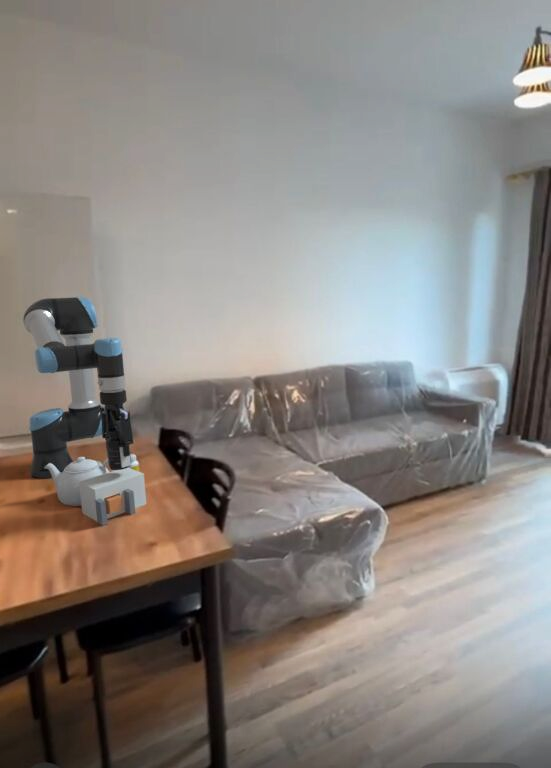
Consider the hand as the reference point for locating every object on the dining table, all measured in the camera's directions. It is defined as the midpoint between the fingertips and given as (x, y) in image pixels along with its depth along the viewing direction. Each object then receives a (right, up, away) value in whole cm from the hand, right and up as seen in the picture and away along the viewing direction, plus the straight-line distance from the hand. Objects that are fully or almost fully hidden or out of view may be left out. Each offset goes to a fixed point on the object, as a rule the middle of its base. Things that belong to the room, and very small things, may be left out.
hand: (119, 463), depth 149 cm
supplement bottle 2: (-2, -10, +21) cm, 24 cm away
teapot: (-14, -13, +10) cm, 22 cm away
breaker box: (-1, -14, -1) cm, 14 cm away
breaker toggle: (-2, -13, -4) cm, 13 cm away
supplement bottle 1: (0, -1, 0) cm, 1 cm away
